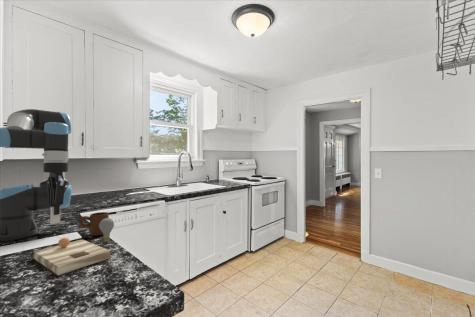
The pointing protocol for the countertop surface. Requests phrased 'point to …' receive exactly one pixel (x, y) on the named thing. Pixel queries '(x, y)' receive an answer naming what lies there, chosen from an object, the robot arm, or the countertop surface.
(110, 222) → the light bulb
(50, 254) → the wooden board with hole
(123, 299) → the countertop surface
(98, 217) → the mug
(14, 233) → the robot arm
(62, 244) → the ball
